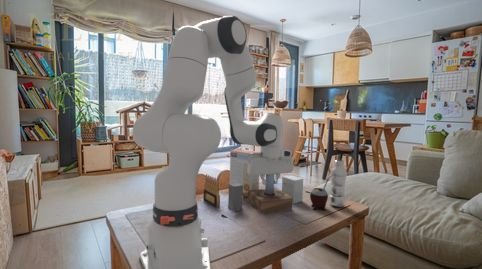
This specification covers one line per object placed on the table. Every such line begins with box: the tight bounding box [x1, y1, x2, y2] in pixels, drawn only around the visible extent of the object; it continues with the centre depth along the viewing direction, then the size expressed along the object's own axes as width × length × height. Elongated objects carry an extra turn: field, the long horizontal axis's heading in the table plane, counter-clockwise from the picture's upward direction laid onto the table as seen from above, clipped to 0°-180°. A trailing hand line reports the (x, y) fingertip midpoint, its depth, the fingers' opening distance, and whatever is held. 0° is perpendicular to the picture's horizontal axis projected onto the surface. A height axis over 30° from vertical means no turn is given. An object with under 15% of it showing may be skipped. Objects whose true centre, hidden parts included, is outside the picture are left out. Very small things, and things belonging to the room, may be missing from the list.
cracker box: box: [229, 148, 260, 198], centre depth 125 cm, size 14×6×21 cm, turn 49°
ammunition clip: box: [202, 173, 221, 209], centre depth 112 cm, size 11×2×12 cm, turn 38°
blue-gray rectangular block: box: [264, 174, 275, 195], centre depth 112 cm, size 4×4×10 cm
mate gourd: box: [309, 174, 334, 211], centre depth 110 cm, size 8×8×15 cm
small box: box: [281, 174, 304, 204], centre depth 119 cm, size 8×6×10 cm
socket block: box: [247, 187, 293, 214], centre depth 112 cm, size 14×14×5 cm
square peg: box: [227, 183, 244, 212], centre depth 108 cm, size 4×4×10 cm
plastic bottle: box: [328, 159, 348, 208], centre depth 113 cm, size 6×7×20 cm
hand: (269, 184), depth 112 cm, fingers closed on blue-gray rectangular block, 4 cm apart
